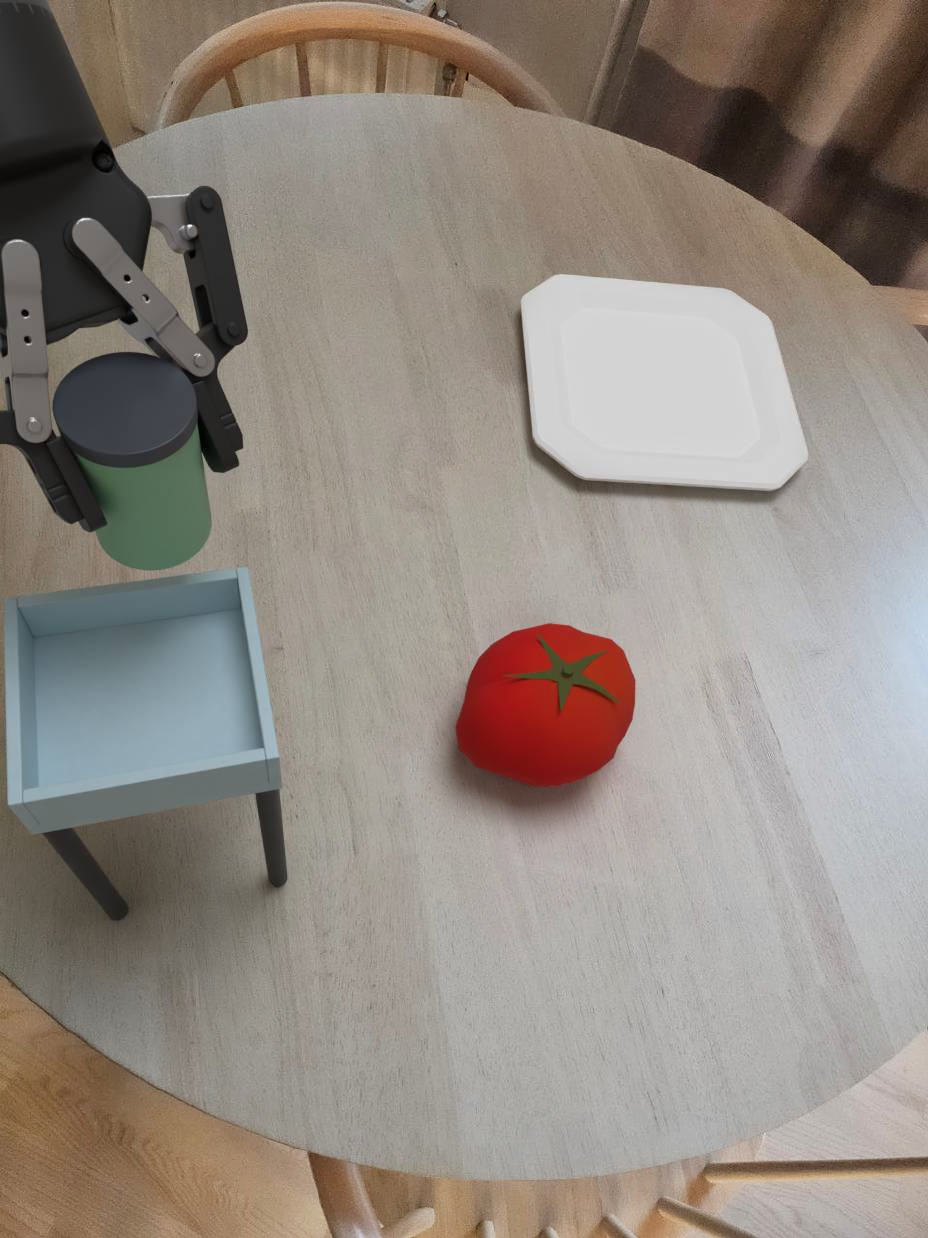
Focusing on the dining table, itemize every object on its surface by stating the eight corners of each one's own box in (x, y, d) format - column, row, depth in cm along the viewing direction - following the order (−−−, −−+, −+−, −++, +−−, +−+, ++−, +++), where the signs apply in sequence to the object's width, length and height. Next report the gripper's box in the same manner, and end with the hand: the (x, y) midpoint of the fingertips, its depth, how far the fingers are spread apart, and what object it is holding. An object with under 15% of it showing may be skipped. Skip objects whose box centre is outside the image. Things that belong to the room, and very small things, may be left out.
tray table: (107, 925, 58) (6, 805, 39) (96, 770, 63) (2, 597, 44) (290, 886, 61) (279, 757, 42) (267, 740, 65) (248, 565, 46)
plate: (532, 489, 80) (537, 472, 78) (514, 286, 92) (518, 267, 90) (809, 505, 83) (821, 489, 81) (756, 306, 95) (765, 289, 93)
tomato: (418, 704, 68) (433, 635, 60) (565, 641, 73) (600, 568, 64) (492, 841, 64) (521, 788, 55) (644, 766, 68) (693, 706, 59)
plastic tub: (98, 580, 41) (55, 461, 34) (90, 485, 43) (48, 356, 36) (221, 564, 42) (203, 446, 35) (206, 473, 44) (188, 346, 38)
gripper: (-310, 48, 26) (0, 589, 32) (164, -45, 32) (349, 429, 38) (-276, 124, 32) (-21, 565, 39) (116, 34, 38) (281, 430, 45)
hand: (162, 495), depth 39 cm, fingers closed on plastic tub, 5 cm apart
